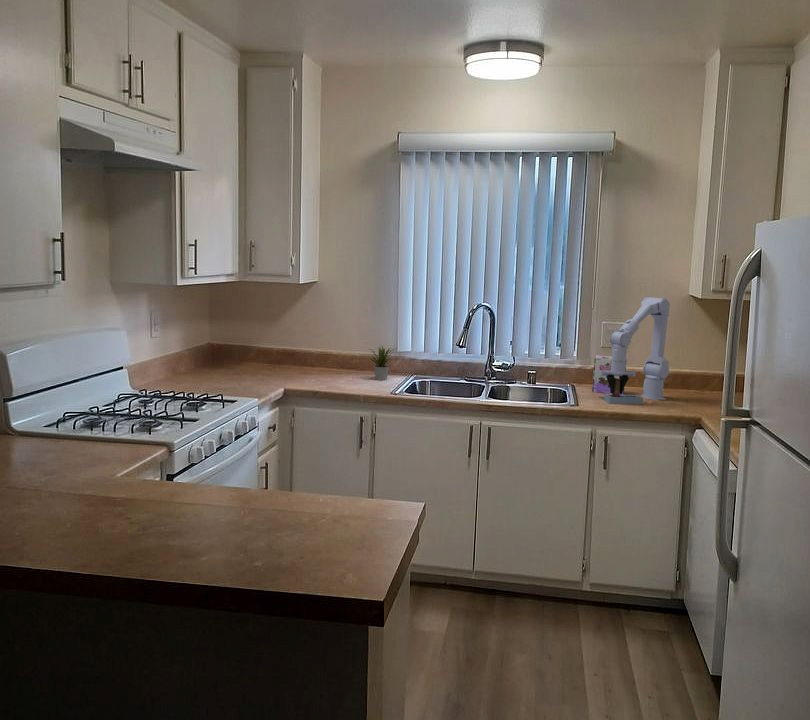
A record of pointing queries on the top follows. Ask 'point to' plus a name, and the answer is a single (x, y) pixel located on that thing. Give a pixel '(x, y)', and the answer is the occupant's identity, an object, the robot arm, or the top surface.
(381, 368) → the house plant
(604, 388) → the candy box
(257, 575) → the top surface
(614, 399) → the hole block
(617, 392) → the dowel
